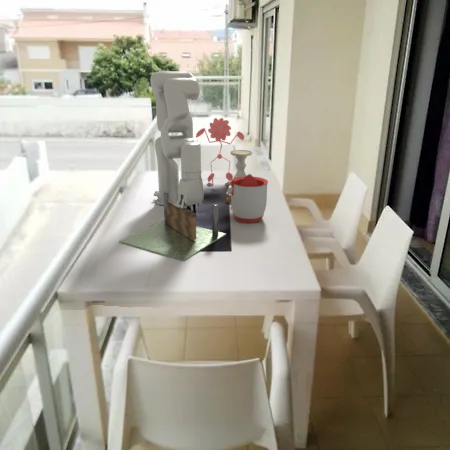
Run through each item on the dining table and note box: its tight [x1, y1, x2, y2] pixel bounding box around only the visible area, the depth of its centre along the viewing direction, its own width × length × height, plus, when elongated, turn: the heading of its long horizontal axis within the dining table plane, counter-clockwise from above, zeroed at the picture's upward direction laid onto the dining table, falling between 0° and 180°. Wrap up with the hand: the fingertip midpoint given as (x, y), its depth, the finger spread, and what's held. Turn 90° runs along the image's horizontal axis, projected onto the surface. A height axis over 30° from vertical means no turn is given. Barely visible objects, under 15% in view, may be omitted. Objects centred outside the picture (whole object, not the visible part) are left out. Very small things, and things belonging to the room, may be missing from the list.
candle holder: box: [225, 149, 253, 204], centre depth 208 cm, size 11×11×24 cm
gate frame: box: [119, 192, 227, 262], centre depth 165 cm, size 30×28×14 cm
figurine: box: [195, 117, 245, 186], centre depth 239 cm, size 15×26×35 cm, turn 98°
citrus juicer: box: [226, 173, 269, 224], centre depth 185 cm, size 16×17×20 cm
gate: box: [166, 200, 197, 240], centre depth 170 cm, size 20×2×10 cm, turn 35°
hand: (192, 220), depth 172 cm, fingers closed
